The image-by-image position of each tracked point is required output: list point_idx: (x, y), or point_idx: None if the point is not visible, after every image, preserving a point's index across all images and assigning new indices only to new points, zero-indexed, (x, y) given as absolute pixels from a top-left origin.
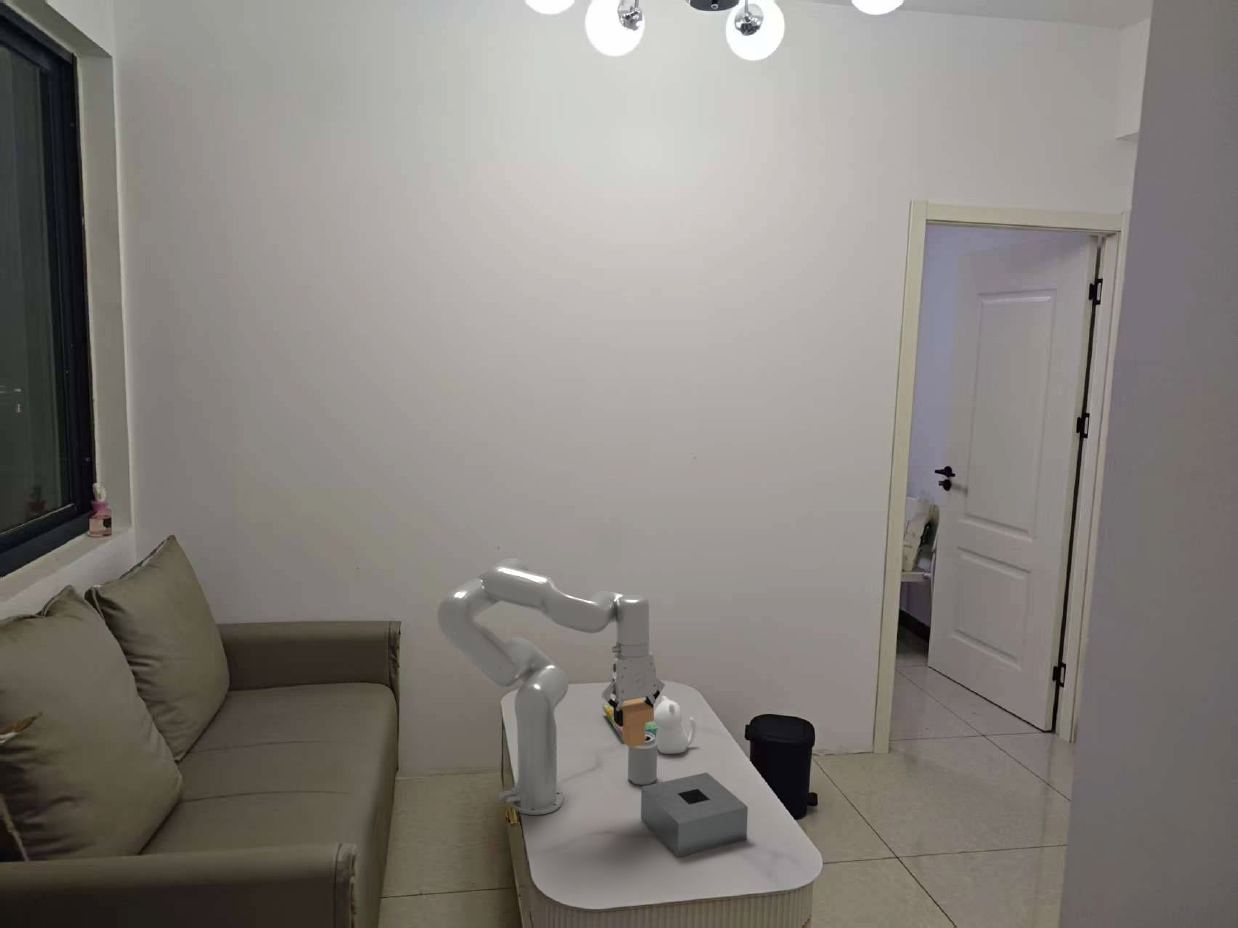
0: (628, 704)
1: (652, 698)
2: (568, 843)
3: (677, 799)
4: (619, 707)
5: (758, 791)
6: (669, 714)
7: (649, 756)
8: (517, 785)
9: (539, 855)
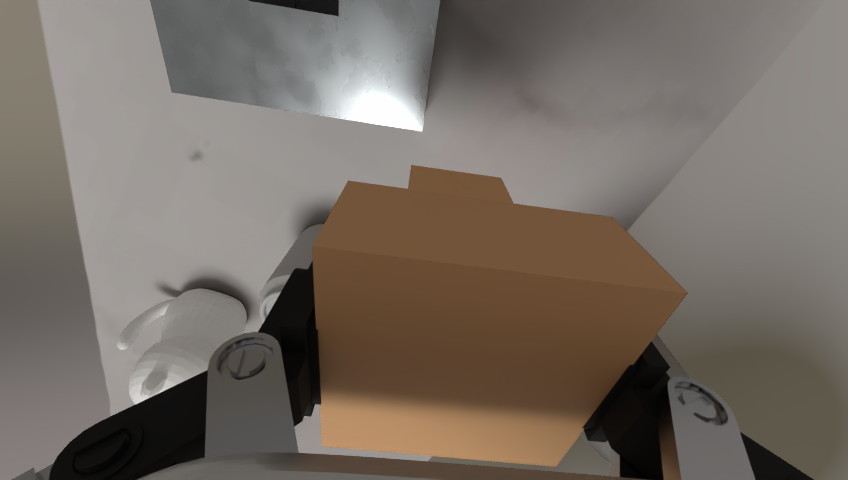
0: (478, 419)
1: (239, 396)
2: (639, 111)
3: None
4: (681, 409)
5: (57, 49)
6: (172, 369)
7: (306, 260)
8: None
9: (729, 103)
